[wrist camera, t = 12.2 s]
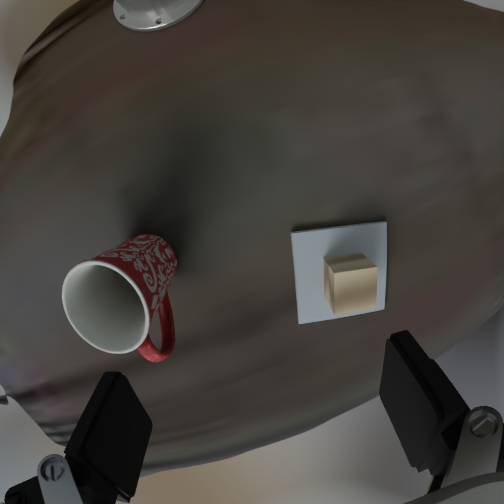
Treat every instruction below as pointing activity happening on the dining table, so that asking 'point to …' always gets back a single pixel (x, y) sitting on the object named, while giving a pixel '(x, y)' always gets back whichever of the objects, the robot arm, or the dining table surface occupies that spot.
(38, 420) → the dining table surface
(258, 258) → the dining table surface
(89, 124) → the dining table surface
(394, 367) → the robot arm
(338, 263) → the maple block
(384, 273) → the pad
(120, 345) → the mug
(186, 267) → the dining table surface
